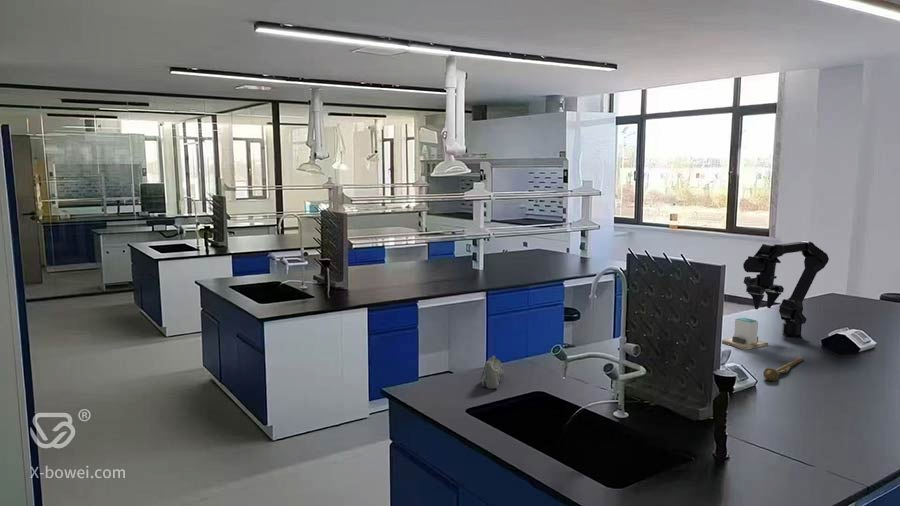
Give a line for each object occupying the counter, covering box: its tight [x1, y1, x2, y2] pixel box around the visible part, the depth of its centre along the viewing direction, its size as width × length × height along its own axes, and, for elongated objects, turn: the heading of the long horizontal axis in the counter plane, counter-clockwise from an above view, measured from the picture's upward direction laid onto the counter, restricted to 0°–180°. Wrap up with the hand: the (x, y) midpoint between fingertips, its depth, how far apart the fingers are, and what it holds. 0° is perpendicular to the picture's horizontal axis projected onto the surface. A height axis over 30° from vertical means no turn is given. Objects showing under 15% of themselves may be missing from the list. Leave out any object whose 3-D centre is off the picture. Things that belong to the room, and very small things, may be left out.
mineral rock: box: [480, 355, 505, 390], centre depth 207 cm, size 13×11×10 cm
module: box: [733, 317, 759, 344], centre depth 250 cm, size 5×7×9 cm
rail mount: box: [721, 335, 769, 351], centre depth 251 cm, size 14×11×3 cm
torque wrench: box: [763, 356, 804, 382], centre depth 218 cm, size 5×35×5 cm
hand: (762, 308), depth 258 cm, fingers open, 9 cm apart
